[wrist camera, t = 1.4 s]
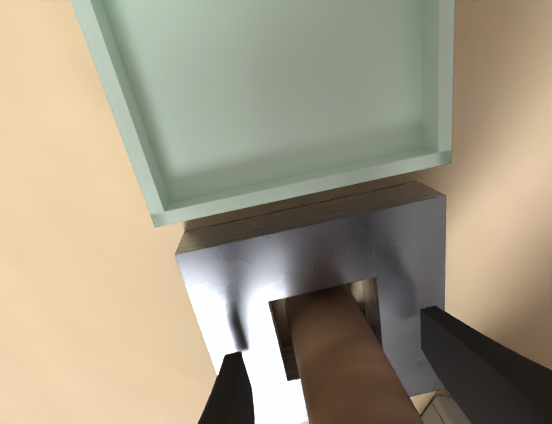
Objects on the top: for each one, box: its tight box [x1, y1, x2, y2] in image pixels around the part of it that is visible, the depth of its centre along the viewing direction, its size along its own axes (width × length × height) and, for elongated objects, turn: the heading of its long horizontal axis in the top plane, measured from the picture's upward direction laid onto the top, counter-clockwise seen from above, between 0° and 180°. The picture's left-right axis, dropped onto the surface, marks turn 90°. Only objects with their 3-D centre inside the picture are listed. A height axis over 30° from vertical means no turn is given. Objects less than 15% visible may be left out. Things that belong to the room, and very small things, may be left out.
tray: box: [71, 0, 455, 227], centre depth 10 cm, size 11×8×2 cm
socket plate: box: [175, 181, 446, 424], centre depth 14 cm, size 10×10×2 cm
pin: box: [285, 284, 424, 424], centre depth 11 cm, size 4×4×9 cm
